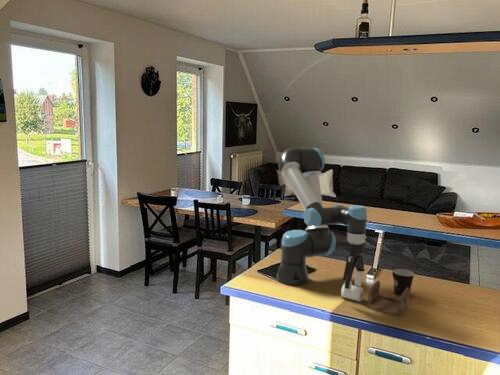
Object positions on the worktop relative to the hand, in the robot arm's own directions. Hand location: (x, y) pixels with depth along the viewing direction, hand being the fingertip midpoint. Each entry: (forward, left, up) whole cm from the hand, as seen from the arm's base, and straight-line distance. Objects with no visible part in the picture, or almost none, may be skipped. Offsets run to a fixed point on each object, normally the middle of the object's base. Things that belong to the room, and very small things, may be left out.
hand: (352, 290), depth 180 cm
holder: (+15, +2, -4) cm, 15 cm away
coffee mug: (+16, +21, -5) cm, 27 cm away
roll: (0, 0, -4) cm, 4 cm away
